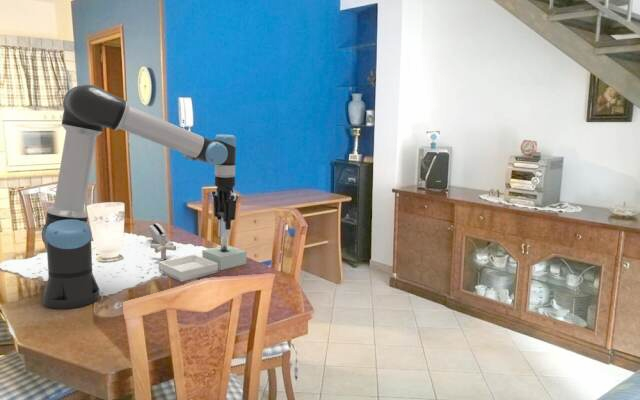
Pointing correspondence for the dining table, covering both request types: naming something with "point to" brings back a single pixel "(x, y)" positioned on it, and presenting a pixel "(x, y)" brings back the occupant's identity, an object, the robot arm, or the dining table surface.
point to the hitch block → (225, 257)
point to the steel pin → (223, 240)
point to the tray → (188, 267)
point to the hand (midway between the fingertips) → (224, 236)
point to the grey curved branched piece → (158, 233)
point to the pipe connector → (163, 246)
